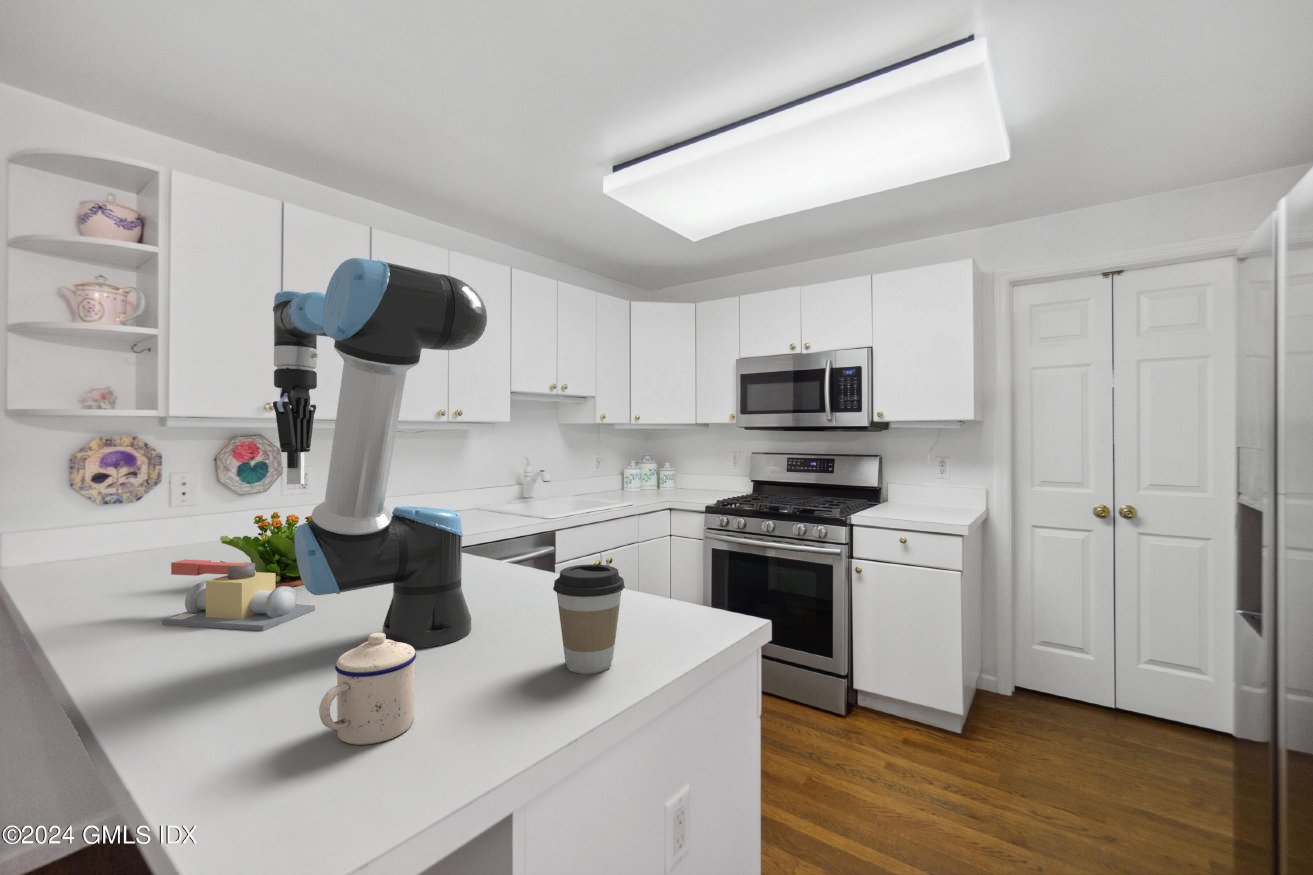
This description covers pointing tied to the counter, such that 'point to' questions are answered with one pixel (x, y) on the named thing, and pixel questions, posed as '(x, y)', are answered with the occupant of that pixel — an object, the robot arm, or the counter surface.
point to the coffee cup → (589, 615)
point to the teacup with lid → (372, 692)
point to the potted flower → (272, 549)
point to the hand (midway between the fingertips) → (295, 483)
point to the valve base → (239, 604)
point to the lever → (213, 568)
